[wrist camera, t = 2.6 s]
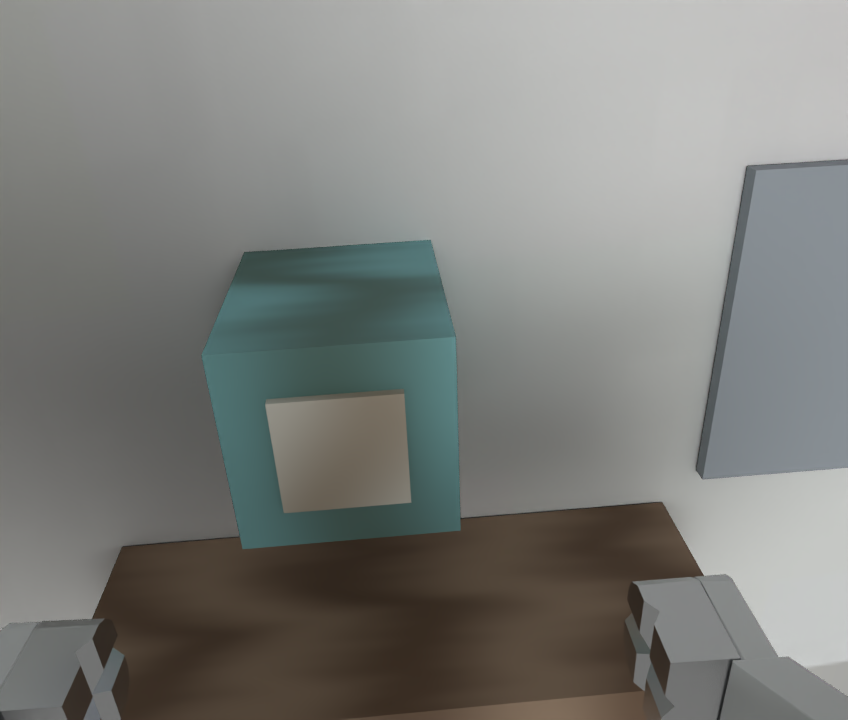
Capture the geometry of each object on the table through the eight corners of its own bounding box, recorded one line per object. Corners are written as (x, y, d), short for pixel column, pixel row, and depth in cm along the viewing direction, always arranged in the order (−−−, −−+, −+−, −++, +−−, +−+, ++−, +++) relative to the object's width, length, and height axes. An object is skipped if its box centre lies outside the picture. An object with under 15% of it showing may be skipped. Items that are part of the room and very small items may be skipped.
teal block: (271, 409, 22) (241, 555, 16) (244, 251, 19) (199, 360, 14) (436, 397, 22) (461, 536, 17) (430, 239, 20) (457, 341, 14)
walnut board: (156, 657, 26) (93, 867, 20) (122, 547, 24) (37, 748, 18) (646, 613, 27) (729, 802, 21) (662, 502, 25) (762, 679, 18)
